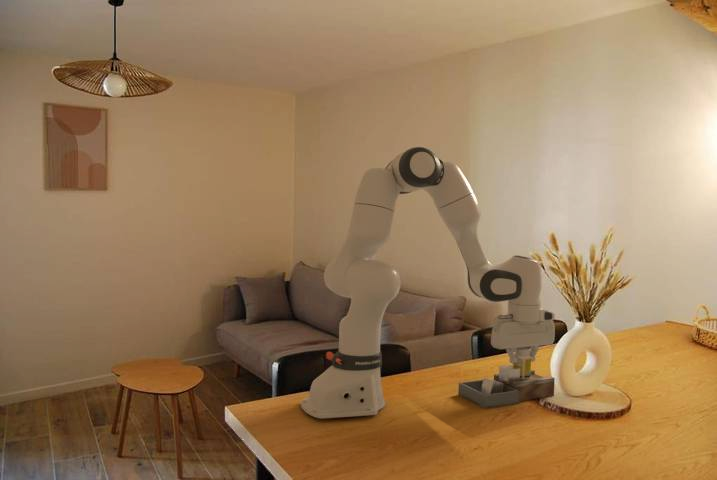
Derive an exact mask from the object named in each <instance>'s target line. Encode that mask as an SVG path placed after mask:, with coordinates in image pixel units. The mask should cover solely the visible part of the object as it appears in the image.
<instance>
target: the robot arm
mask: <svg viewBox="0 0 717 480" xmlns="http://www.w3.org/2000/svg"><path fill="white" fill-rule="evenodd" d="M469 182H470V181H468V179H467V177H466V175H465V174H464V173H463V171H462V169H460V167H459V166H458V165H457V163H454V162H452V161H443V160H442V159H441V158H439V157H438V156H437V155H436V154H435V153H434V152H432V151H431V150H430V149H428V148H426V147H422V146H416V147H415V146H414V147H411V148H409V149H406V151H403V152H401V153H399V154H398V155H397V156H396V157H395V158H394V159H393V160H392V159H391V161H390V162H389V163H388V164H387V166H386V167H385V168H382V167H372V168H369V169H367V170H365V172H364V173H363V175H362V177H361V179H360V182H359V183H358V184H359V185H358V186H357V187H358V188H357V190H356V194H355V199H354V201H353V202H354V203H353V209H352V213H351V218H350V223H349V228H348V230H347V234H346V237H345V239H344V242H343V243H342V245H341V247H340V249H339V251H338V252H337V255H336V256H335V257H334V258H333V259H332V260H330V262H328V264H326V267H325V270H324V272H323V280H324V284H325V286H326V288H328V289H329V290H330V291H332V292H333V294H336V295H337V296H340V297H344V298H349V299H350V305H349V309H348V312H347V313H346V315H345V316H344V317H343V318H341V320H340V321H339V325H338V326H339V329H338V330H339V331H338V350H337V351H336V352H335V353H333V352H332V351H327V352H326V353H325V354H326V355H325V358H326V359H327V360H329V361H331V366H329V367H328V368H327V369H326V370H325V371H324V372H322V373H321V374H320V375H319V376H317V377H316V378H315V379H314V380H313V381H312V383H311V385H310V389H309V395H308V397H307V396H306V397H304V398H302V399H301V400H300V407H301V409H302V410H303V411H304V412H305V413H306V414H308V415H310V416H311V417H314V418H317V419H334V418H346V417H347V418H350V417H363V416H374V415H377V414H378V412H379V411H380V410H381V409H383V408H385V406H386V400H385V398H384V394H383V388H382V386H383V385H382V378H381V377H382V376H381V372H382V364H383V363H382V360H383V359H382V358H383V357H382V351H381V336H382V335H381V334H382V333H381V332H382V331H381V330H382V324H383V323H382V322H383V319H384V315H385V312H386V309H387V308H388V305H389V304H390V303H391V302H392V301H393V300H394V299H395V298H396V297H397V296H398V294H399V292H400V289H401V285H402V283H401V282H402V281H401V279H402V278H401V275H400V272H399V271H398V270H397V268H396V267H394V266H393V265H391V264H389V263H387V262H384V261H381V260H375V258H376V255H377V254H378V252H379V250H380V249H381V248H382V247H383V246H384V245H386V244H387V242H388V241H389V239H390V237H391V231H392V225H393V221H394V220H393V219H394V214H395V209H396V202H397V199H398V196H399V195H404V194H405V195H406V194H410V193H413V192H417V191H420V190H423V191H425V192H427V193H428V195H429V196H430V197H431V198H432V200H433V202H434V205H435V208H436V209H437V212H438V214H439V216H440V217H441V220H442V221H443V223H444V224H445V226H446V227H447V229H448V230H449V232H450V233H451V235H452V237H453V238H454V240H455V241H456V244H457V246H458V249H459V251H460V253H461V257H462V258H463V260H464V263H465V266H466V269H467V284H468V288H469V290H470V291H471V293H472V294H474V295H475V296H476V297H478V298H482V299H484V300H487V301H489V302H492V303H500V302H506V301H507V314H499V315H497V316H496V317H495V318H494V320H493V322H492V323H493V326H492V330H491V337H490V344H491V346H492V347H493V348H495V349H498V350H505V351H506V353H507V354H508V357H509V359H508V361H509V363H510V364H511V365H513V364H515V363H518V361H517V360H518V357H515V354H516V353H515V348H521V347H527V348H529V349H530V354H529V355H530V356H531V363H533V362H535V361H536V355H537V353H538V352H539V349H540V347H541V346H549V345H550V346H551V345H553V343H554V342H555V337H556V336H555V335H556V333H555V332H556V331H555V329H556V327H555V322H554V319H555V312H552V311H549V310H548V309H544V308H542V307H541V305H542V302H541V298H540V295H541V290H542V268H541V264H540V262H539V261H538V260H537V259H536V258H532V257H528V256H522V255H513V256H512V257H511V258H509V259H507V260H506V261H503V262H502V263H499V264H497V265H493V263H491V262H490V261H489V260H488V258H487V256H486V253H485V251H484V248H483V246H482V244H481V242H480V239H479V236H478V225H479V221H480V219H481V214H482V213H481V210H480V205H479V201H478V199H477V196H476V194H475V192H474V190H473V188H472V187H471V184H470V183H469Z"/></svg>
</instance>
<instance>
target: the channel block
mask: <svg viewBox="0 0 717 480" xmlns="http://www.w3.org/2000/svg"><path fill="white" fill-rule="evenodd" d="M535 371H536V370H534V369H531V374H530V379H528V380H520V381H517V382H512V384H506V383H504V382H502V381H499V373H495V374H493V380H496V381H499V382H501V383H504V385H506V386H509V387H511V388H513V389H516V390H518V391H519V402H520V401H521V402H522V401H527V400H534V399H540V397H541V398H545V397H544V396H548V397H553V396H555V377H553V376H548V377H544V376H541V375H538V374H536V372H535Z"/></svg>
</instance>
